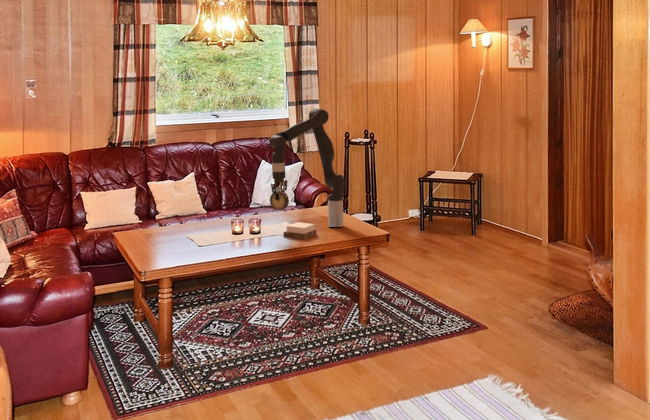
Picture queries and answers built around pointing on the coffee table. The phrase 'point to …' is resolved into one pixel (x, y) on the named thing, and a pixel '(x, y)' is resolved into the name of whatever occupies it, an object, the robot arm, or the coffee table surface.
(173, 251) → the coffee table surface
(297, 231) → the cream slab
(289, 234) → the walnut slab
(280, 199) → the alarm clock
